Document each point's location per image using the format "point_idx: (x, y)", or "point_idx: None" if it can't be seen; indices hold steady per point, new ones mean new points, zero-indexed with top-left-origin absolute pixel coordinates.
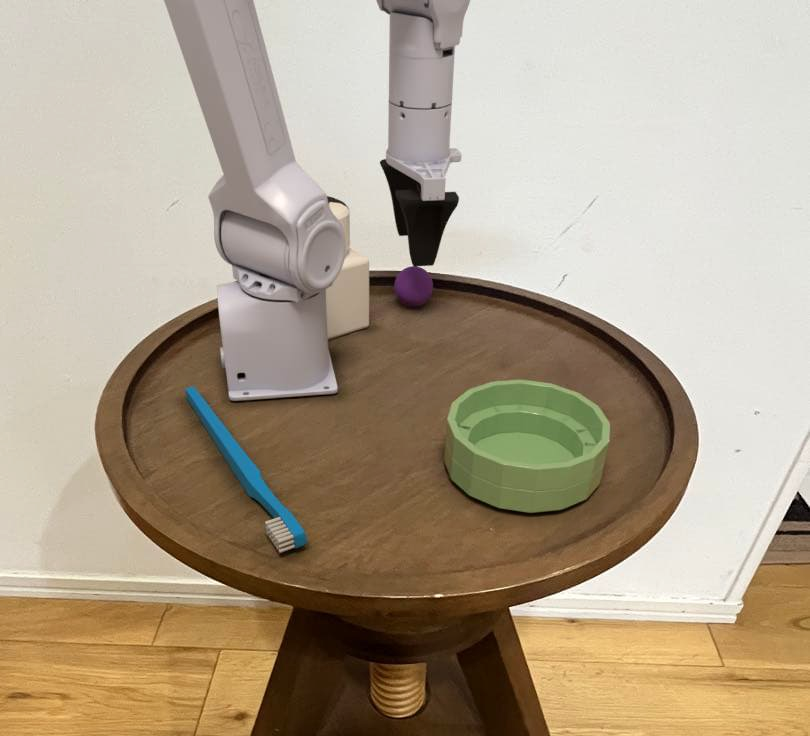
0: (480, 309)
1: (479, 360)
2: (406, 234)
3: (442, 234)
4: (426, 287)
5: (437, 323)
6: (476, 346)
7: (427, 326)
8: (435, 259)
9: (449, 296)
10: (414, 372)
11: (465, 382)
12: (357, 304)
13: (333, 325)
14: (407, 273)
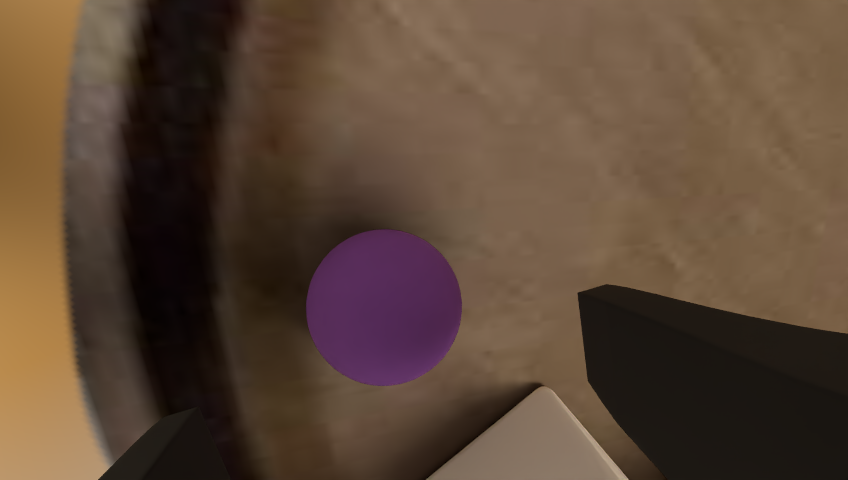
0: (385, 21)
1: (740, 49)
2: (221, 468)
3: (783, 324)
4: (443, 262)
5: (507, 187)
6: (659, 54)
7: (528, 219)
8: (622, 287)
9: (282, 149)
10: (774, 236)
11: (840, 97)
12: (610, 462)
13: (626, 478)
14: (425, 359)
